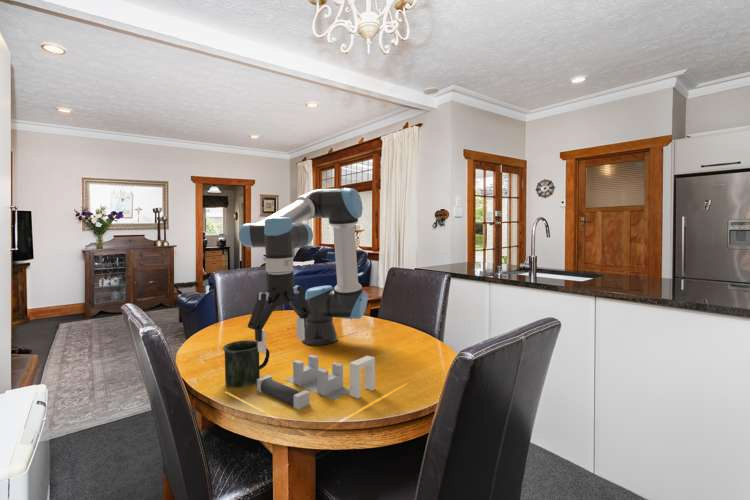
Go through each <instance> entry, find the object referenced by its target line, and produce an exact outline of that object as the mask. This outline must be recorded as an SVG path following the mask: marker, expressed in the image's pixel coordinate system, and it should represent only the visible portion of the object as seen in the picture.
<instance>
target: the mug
mask: <svg viewBox="0 0 750 500" xmlns="http://www.w3.org/2000/svg"><path fill="white" fill-rule="evenodd" d="M222 350H223V351H224V376H225V377H224V378H225V385H226V386H227V387H229V388H230V387H231V388H243V387H248V386H252V385H254V384H257V379H259V378H261V377H260V375H261V374H260V371H261V370H262V369H264V368H265V367H266V366H267V364H268V362H269V359H270V351H269V349H268V348H267V347H266V353H265V357H264V360H263V362H262V363H261V364H260V352H258V341H256V340H252V339H251V340H250V339H247V340H238V341H233V342H232V341H231V342H230V343H226V344H225V345H224V346H223V347H222Z"/></svg>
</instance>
